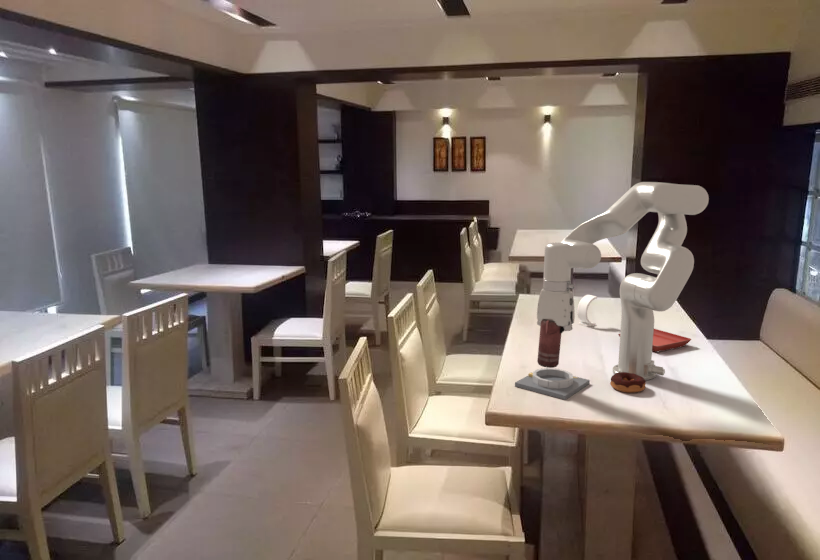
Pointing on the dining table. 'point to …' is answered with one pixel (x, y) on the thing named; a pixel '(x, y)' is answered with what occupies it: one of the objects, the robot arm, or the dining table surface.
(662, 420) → the dining table surface
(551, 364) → the can
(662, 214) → the robot arm
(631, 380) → the donut
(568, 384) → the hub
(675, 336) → the plant saucer
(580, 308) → the white curved piece
